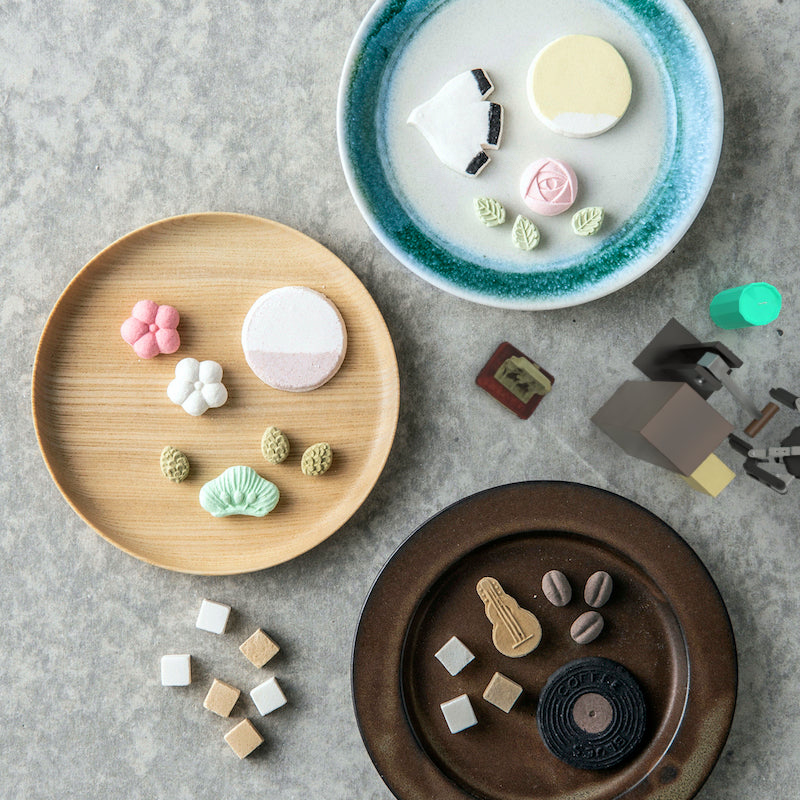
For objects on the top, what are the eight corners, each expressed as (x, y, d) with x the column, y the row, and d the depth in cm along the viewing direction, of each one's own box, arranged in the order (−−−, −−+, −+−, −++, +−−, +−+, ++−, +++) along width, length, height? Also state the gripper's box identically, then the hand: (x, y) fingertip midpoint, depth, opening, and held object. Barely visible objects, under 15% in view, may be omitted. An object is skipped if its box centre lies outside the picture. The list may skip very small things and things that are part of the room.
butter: (712, 467, 108) (736, 475, 100) (692, 488, 108) (715, 498, 100) (688, 445, 108) (710, 451, 100) (668, 466, 108) (689, 474, 100)
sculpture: (470, 383, 108) (479, 385, 93) (501, 340, 108) (516, 334, 93) (522, 421, 108) (540, 429, 93) (554, 377, 108) (577, 379, 93)
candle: (702, 326, 107) (739, 320, 95) (710, 286, 107) (748, 276, 95) (742, 333, 107) (783, 328, 95) (749, 294, 107) (792, 284, 95)
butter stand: (663, 415, 108) (735, 428, 84) (626, 454, 108) (688, 478, 84) (624, 379, 108) (685, 382, 84) (588, 418, 108) (638, 432, 84)
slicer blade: (771, 406, 101) (784, 411, 99) (745, 435, 101) (757, 441, 99) (715, 342, 96) (727, 345, 94) (687, 372, 96) (698, 377, 94)
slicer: (729, 370, 108) (776, 370, 94) (688, 415, 108) (729, 421, 94) (670, 317, 107) (708, 309, 94) (629, 362, 108) (661, 361, 94)
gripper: (898, 425, 87) (780, 364, 98) (818, 512, 88) (709, 441, 99) (900, 449, 93) (788, 388, 104) (825, 531, 93) (721, 461, 104)
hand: (750, 414), depth 101 cm, fingers open, 8 cm apart
